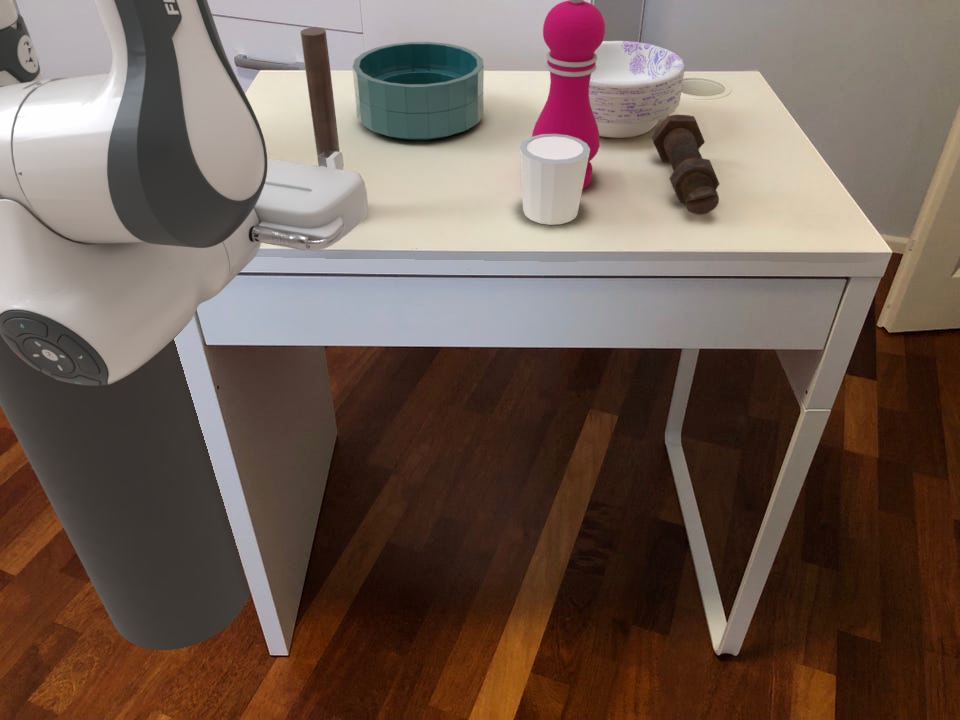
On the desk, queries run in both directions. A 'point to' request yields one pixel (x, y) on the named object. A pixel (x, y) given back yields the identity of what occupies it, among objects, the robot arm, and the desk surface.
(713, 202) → the bolt
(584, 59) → the pepper mill
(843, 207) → the desk surface
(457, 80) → the bowl
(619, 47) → the paper bowls
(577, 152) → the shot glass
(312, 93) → the muddler
